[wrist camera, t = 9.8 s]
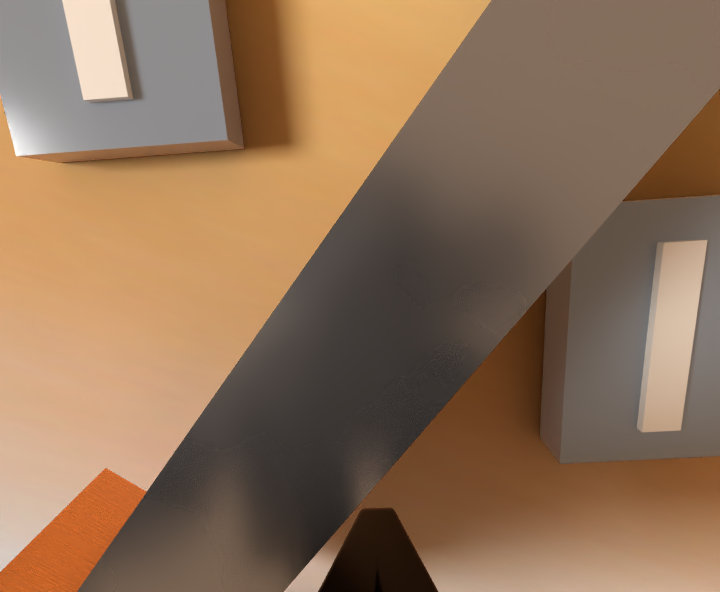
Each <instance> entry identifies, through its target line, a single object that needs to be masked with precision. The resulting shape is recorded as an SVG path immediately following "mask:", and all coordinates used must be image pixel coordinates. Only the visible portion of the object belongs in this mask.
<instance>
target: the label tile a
mask: <svg viewBox="0 0 720 592" xmlns="http://www.w3.org/2000/svg"><path fill="white" fill-rule="evenodd" d="M0 95H1V99H2V103H3V107H4V111H5V114H6V118H7V122H8V126H9V130H10V134H11V138H12V141H13V145H14V149H15V153H16V156H19V157H26V158H32V159H38V160H44V161H51V162H57V163H61V162H74V161H88V160H101V159H114V158H128V157H141V156H154V155H168V154H181V153H194V152H208V151H221V150H235V149H244V142H243V134H242V126H241V118H240V111H239V103H238V95H237V88H236V80H235V72H234V64H233V57H232V49H231V41H230V33H229V26H228V18H227V10H226V2H225V0H0Z"/></svg>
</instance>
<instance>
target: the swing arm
mask: <svg viewBox="0 0 720 592" xmlns="http://www.w3.org/2000/svg"><path fill="white" fill-rule="evenodd" d="M719 89H720V0H491V2H490V3H489V5H488V6H487V8H486V9H485V10H484V12H483V13H482V15H481V16H480V18H479V19H478V20H477V22H476V23H475V25H474V26H473V28H472V29H471V30H470V32H469V33H468V35H467V36H466V38H465V39H464V40H463V42H462V43H461V45H460V46H459V48H458V49H457V50H456V52H455V53H454V55H453V56H452V58H451V59H450V60H449V62H448V63H447V65H446V66H445V67H444V69H443V70H442V72H441V73H440V75H439V76H438V77H437V79H436V80H435V82H434V83H433V85H432V86H431V87H430V89H429V90H428V92H427V93H426V95H425V96H424V97H423V99H422V100H421V102H420V103H419V105H418V106H417V107H416V109H415V110H414V112H413V113H412V115H411V116H410V117H409V119H408V120H407V122H406V123H405V125H404V126H403V127H402V129H401V130H400V132H399V133H398V135H397V136H396V137H395V139H394V140H393V142H392V143H391V144H390V146H389V147H388V149H387V150H386V152H385V153H384V154H383V156H382V157H381V159H380V160H379V162H378V163H377V164H376V166H375V167H374V169H373V170H372V172H371V173H370V174H369V176H368V177H367V179H366V180H365V182H364V183H363V184H362V186H361V187H360V189H359V190H358V192H357V193H356V194H355V196H354V197H353V199H352V200H351V202H350V203H349V204H348V206H347V207H346V209H345V210H344V212H343V213H342V214H341V216H340V217H339V219H338V220H337V221H336V223H335V224H334V226H333V227H332V229H331V230H330V231H329V233H328V234H327V236H326V237H325V239H324V240H323V241H322V243H321V244H320V246H319V247H318V249H317V250H316V251H315V253H314V254H313V256H312V257H311V259H310V260H309V261H308V263H307V264H306V266H305V267H304V269H303V270H302V271H301V273H300V274H299V276H298V277H297V279H296V280H295V281H294V283H293V284H292V286H291V287H290V288H289V290H288V291H287V293H286V294H285V296H284V297H283V298H282V300H281V301H280V303H279V304H278V306H277V307H276V308H275V310H274V311H273V313H272V314H271V316H270V317H269V318H268V320H267V321H266V323H265V324H264V326H263V327H262V328H261V330H260V331H259V333H258V334H257V336H256V337H255V338H254V340H253V341H252V343H251V344H250V346H249V347H248V348H247V350H246V351H245V353H244V354H243V356H242V357H241V358H240V360H239V361H238V363H237V364H236V365H235V367H234V368H233V370H232V371H231V373H230V374H229V375H228V377H227V378H226V380H225V381H224V383H223V384H222V385H221V387H220V388H219V390H218V391H217V393H216V394H215V395H214V397H213V398H212V400H211V401H210V403H209V404H208V405H207V407H206V408H205V410H204V411H203V413H202V414H201V415H200V417H199V418H198V420H197V421H196V423H195V424H194V425H193V427H192V428H191V430H190V431H189V433H188V434H187V435H186V437H185V438H184V440H183V441H182V442H181V444H180V445H179V447H178V448H177V450H176V451H175V452H174V454H173V455H172V457H171V458H170V460H169V461H168V462H167V464H166V465H165V467H164V468H163V470H162V471H161V472H160V474H159V475H158V477H157V478H156V480H155V481H154V482H153V484H152V485H151V487H150V488H149V490H148V491H147V492H146V491H144V490H143V489H141V488H139V487H137V486H136V485H134V484H132V483H131V482H129V481H127V480H125V479H124V478H122V477H120V476H119V475H117V474H115V473H113V472H112V471H110V470H108V469H107V468H105V469H104V470H103V471H102V472H101V473H100V474H99V475H98V476H97V477H96V478H95V479H94V480H93V481H92V482H91V483H90V484H89V485H88V486H87V487H86V488H85V489H84V490H83V491H82V492H81V493H80V494H79V495H78V496H77V497H76V498H75V499H74V500H73V501H72V502H71V503H70V504H69V505H68V506H67V507H66V508H65V509H64V510H63V511H62V512H61V513H60V514H59V515H58V516H57V517H56V518H55V519H54V520H53V521H52V522H51V523H50V524H49V525H48V526H47V527H45V528H44V529H43V530H42V531H41V532H40V533H39V534H38V535H37V536H36V537H35V538H34V539H33V540H32V541H31V542H30V543H29V544H28V545H27V546H26V547H25V548H24V549H23V550H22V551H21V552H20V553H19V554H18V555H17V556H16V557H15V558H14V559H13V560H12V561H11V562H10V563H9V564H8V565H7V566H6V567H5V568H4V569H3V570H2V571H1V572H0V592H284V590H285V589H286V588H287V587H288V586H289V585H290V584H291V582H292V581H293V580H294V579H295V578H296V577H297V575H298V574H299V573H300V572H301V571H302V570H303V569H304V567H305V566H306V565H307V564H308V563H309V562H310V560H311V559H312V558H313V557H314V556H315V555H316V554H317V552H318V551H319V550H320V549H321V548H322V547H323V545H324V544H325V543H326V542H327V541H328V540H329V539H330V537H331V536H332V535H333V534H334V533H335V532H336V531H337V529H338V528H339V527H340V526H341V525H342V524H343V522H344V521H345V520H346V519H347V518H348V517H349V516H350V514H351V513H352V512H353V511H354V510H355V509H356V507H357V506H358V505H359V504H360V503H361V502H362V501H363V499H364V498H365V497H366V496H367V495H368V494H369V492H370V491H371V490H372V489H373V488H374V487H375V486H376V484H377V483H378V482H379V481H380V480H381V479H382V477H383V476H384V475H385V474H386V473H387V472H388V471H389V469H390V468H391V467H392V466H393V465H394V464H395V462H396V461H397V460H398V459H399V458H400V457H401V456H402V454H403V453H404V452H405V451H406V450H407V449H408V448H409V446H410V445H411V444H412V443H413V442H414V441H415V439H416V438H417V437H418V436H419V435H420V434H421V433H422V431H423V430H424V429H425V428H426V427H427V426H428V424H429V423H430V422H431V421H432V420H433V419H434V418H435V416H436V415H437V414H438V413H439V412H440V411H441V409H442V408H443V407H444V406H445V405H446V404H447V403H448V401H449V400H450V399H451V398H452V397H453V396H454V394H455V393H456V392H457V391H458V390H459V389H460V388H461V386H462V385H463V384H464V383H465V382H466V381H467V379H468V378H469V377H470V376H471V375H472V374H473V373H474V371H475V370H476V369H477V368H478V367H479V366H480V364H481V363H482V362H483V361H484V360H485V359H486V358H487V356H488V355H489V354H490V353H491V352H492V351H493V350H494V348H495V347H496V346H497V345H498V344H499V343H500V341H501V340H502V339H503V338H504V337H505V336H506V335H507V333H508V332H509V331H510V330H511V329H512V328H513V326H514V325H515V324H516V323H517V322H518V321H519V320H520V318H521V317H522V316H523V315H524V314H525V313H526V311H527V310H528V309H529V308H530V307H531V306H532V305H533V303H534V302H535V301H536V300H537V299H538V298H539V296H540V295H541V294H542V293H543V292H544V291H545V290H546V288H547V287H548V286H549V285H550V284H551V283H552V281H553V280H554V279H555V278H556V277H557V276H558V275H559V273H560V272H561V271H562V270H563V269H564V268H565V267H566V265H567V264H568V263H569V262H570V261H571V260H572V258H573V257H574V256H575V255H576V254H577V253H578V252H579V250H580V249H581V248H582V247H583V246H584V245H585V243H586V242H587V241H588V240H589V239H590V238H591V237H592V235H593V234H594V233H595V232H596V231H597V230H598V228H599V227H600V226H601V225H602V224H603V223H604V222H605V220H606V219H607V218H608V217H609V216H610V215H611V213H612V212H613V211H614V210H615V209H616V208H617V207H618V205H619V204H620V203H621V202H622V201H623V200H624V198H625V197H626V196H627V195H628V194H629V193H630V192H631V190H632V189H633V188H634V187H635V186H636V185H637V184H638V182H639V181H640V180H641V179H642V178H643V177H644V175H645V174H646V173H647V172H648V171H649V170H650V169H651V167H652V166H653V165H654V164H655V163H656V162H657V160H658V159H659V158H660V157H661V156H662V155H663V154H664V152H665V151H666V150H667V149H668V148H669V147H670V145H671V144H672V143H673V142H674V141H675V140H676V139H677V137H678V136H679V135H680V134H681V133H682V132H683V130H684V129H685V128H686V127H687V126H688V125H689V124H690V122H691V121H692V120H693V119H694V118H695V117H696V115H697V114H698V113H699V112H700V111H701V110H702V109H703V107H704V106H705V105H706V104H707V103H708V102H709V100H710V99H711V98H712V97H713V96H714V95H715V94H716V92H717V91H718V90H719Z"/></svg>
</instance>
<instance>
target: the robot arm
mask: <svg viewBox="0 0 720 592" xmlns="http://www.w3.org/2000/svg"><path fill="white" fill-rule="evenodd" d="M318 592H438V590H437V588H436V586H435V585H434V583H433V581H432V579H431V577H430V575H429V573H428V572H427V570H426V568H425V566H424V564H423V562H422V560H421V559H420V557H419V555H418V553H417V551H416V549H415V547H414V546H413V544H412V542H411V540H410V538H409V536H408V534H407V533H406V531H405V529H404V527H403V525H402V523H401V521H400V520H399V518H398V516H397V514H396V512H395V511H394V509H392V508H364V509H362V510H361V511H360V513H359V515H358V517H357V518H356V520H355V522H354V524H353V526H352V528H351V530H350V532H349V534H348V536H347V538H346V539H345V541H344V543H343V545H342V547H341V549H340V551H339V553H338V555H337V557H336V559H335V560H334V562H333V564H332V566H331V568H330V570H329V572H328V574H327V576H326V578H325V580H324V581H323V583H322V585H321V587H320V589H319V591H318Z"/></svg>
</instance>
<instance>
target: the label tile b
mask: <svg viewBox="0 0 720 592" xmlns="http://www.w3.org/2000/svg"><path fill="white" fill-rule="evenodd" d="M540 439H541V440H542V442H543V443H544V444H545V446H546V447H547V448H548V449H549V451H550V452H551V453H552V455H553V456H554V457H555V459H556V460H557V461H558V462H559V464H571V463H591V462H612V461H632V460H652V459H672V458H693V457H713V456H720V194H717V195H702V196H688V197H673V198H659V199H644V200H630V201H622V202H621V203H620V204H619V205H618V207H617V208H616V209H615V210H614V211H613V212H612V213H611V215H610V216H609V217H608V218H607V219H606V220H605V222H604V223H603V224H602V225H601V226H600V227H599V228H598V230H597V231H596V232H595V233H594V234H593V235H592V237H591V238H590V239H589V240H588V241H587V242H586V243H585V245H584V246H583V247H582V248H581V249H580V250H579V252H578V253H577V254H576V255H575V256H574V257H573V258H572V260H571V261H570V262H569V263H568V264H567V265H566V267H565V268H564V269H563V270H562V271H561V272H560V273H559V275H558V276H557V277H556V278H555V279H554V280H553V281H552V283H551V284H550V285H549V286H548V287H547V291H546V313H545V335H544V356H543V378H542V400H541V422H540Z"/></svg>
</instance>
